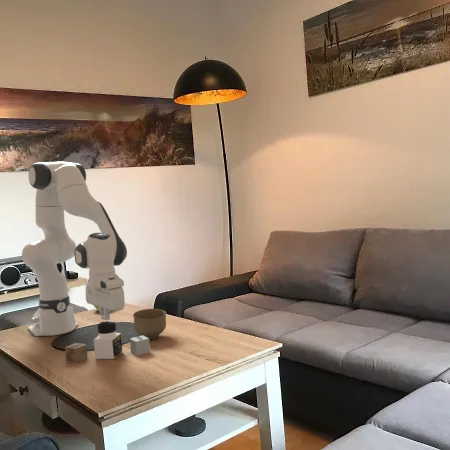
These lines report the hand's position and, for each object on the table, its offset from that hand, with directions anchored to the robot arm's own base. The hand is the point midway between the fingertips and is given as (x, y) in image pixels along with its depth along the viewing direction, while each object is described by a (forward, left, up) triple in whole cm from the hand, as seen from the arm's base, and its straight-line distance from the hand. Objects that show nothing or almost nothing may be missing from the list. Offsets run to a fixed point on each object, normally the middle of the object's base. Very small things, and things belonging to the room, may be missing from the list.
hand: (105, 319), depth 171 cm
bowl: (-4, +21, -13) cm, 25 cm away
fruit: (-60, +33, -13) cm, 70 cm away
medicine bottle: (0, 0, -13) cm, 13 cm away
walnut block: (-6, -9, -13) cm, 17 cm away
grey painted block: (+6, +9, -13) cm, 17 cm away
